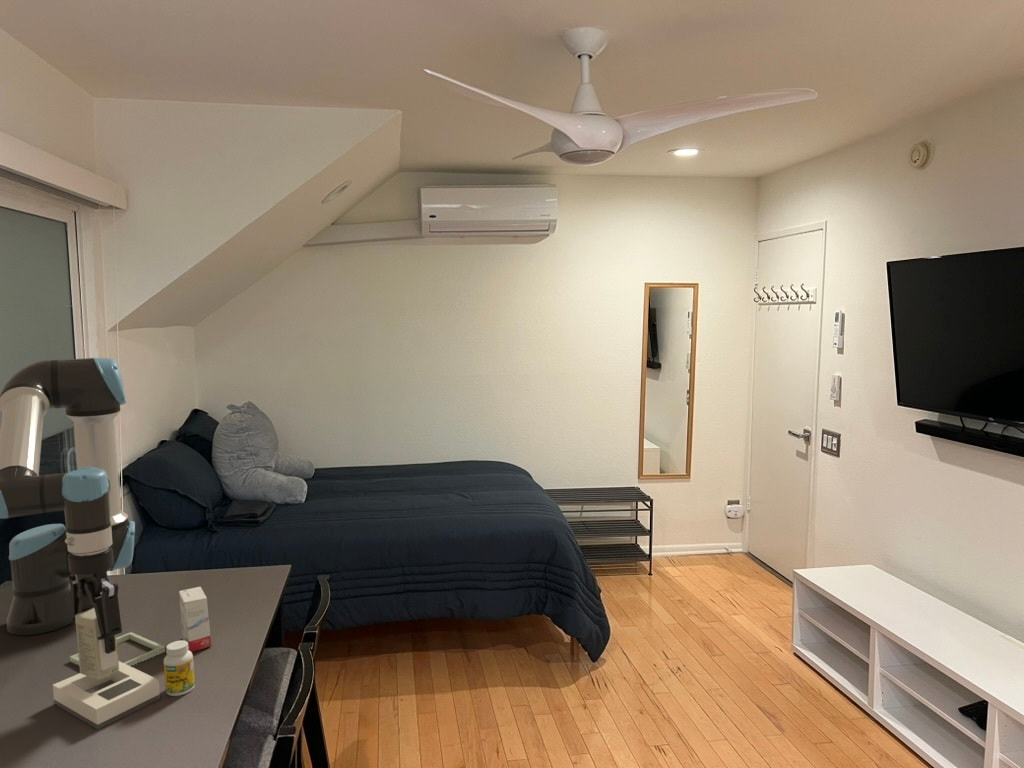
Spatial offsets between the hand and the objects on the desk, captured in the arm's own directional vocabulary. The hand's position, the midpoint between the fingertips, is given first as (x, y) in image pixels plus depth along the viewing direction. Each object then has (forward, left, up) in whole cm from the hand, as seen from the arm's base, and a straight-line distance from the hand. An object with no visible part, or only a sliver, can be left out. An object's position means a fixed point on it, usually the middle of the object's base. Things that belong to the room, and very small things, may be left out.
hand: (99, 662), depth 140 cm
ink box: (-5, +24, -8) cm, 26 cm away
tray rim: (-14, +11, -8) cm, 19 cm away
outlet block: (+2, 0, -8) cm, 8 cm away
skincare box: (0, 0, -2) cm, 2 cm away
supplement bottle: (+10, +10, -8) cm, 16 cm away
